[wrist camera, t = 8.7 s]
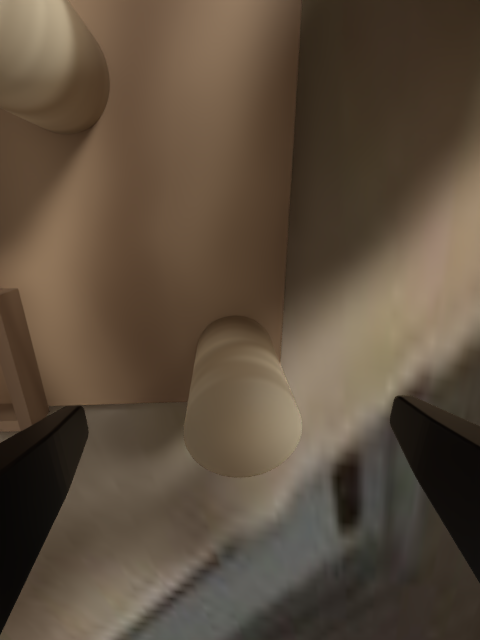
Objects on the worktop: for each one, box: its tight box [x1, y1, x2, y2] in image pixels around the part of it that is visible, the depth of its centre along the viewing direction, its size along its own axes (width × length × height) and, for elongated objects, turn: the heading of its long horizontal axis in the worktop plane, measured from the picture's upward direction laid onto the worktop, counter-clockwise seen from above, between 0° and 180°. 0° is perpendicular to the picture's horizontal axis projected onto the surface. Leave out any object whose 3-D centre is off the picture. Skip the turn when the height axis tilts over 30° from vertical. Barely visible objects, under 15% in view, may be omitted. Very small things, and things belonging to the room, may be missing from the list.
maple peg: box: [183, 315, 302, 477], centre depth 10 cm, size 3×3×5 cm
